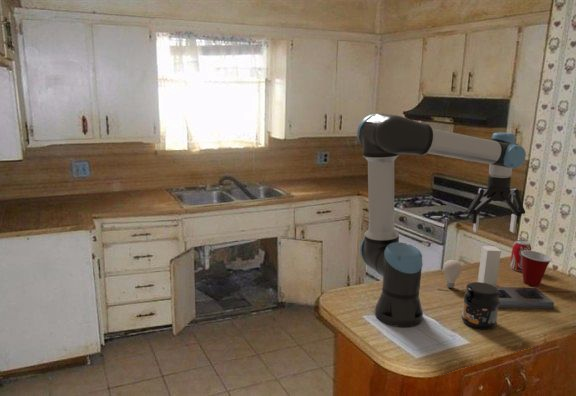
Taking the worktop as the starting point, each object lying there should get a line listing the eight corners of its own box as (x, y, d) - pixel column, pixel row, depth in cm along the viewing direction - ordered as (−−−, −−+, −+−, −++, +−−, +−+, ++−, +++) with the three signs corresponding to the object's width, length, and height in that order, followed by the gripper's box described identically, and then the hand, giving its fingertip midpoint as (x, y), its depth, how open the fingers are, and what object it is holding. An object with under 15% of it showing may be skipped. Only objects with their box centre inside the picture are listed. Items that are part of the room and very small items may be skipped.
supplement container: (453, 317, 150) (457, 283, 147) (479, 312, 154) (483, 279, 151) (477, 333, 140) (482, 297, 138) (503, 327, 144) (508, 292, 141)
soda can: (512, 271, 191) (516, 244, 188) (507, 265, 198) (511, 239, 195) (530, 273, 190) (534, 245, 187) (524, 266, 196) (528, 240, 194)
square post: (482, 287, 174) (487, 250, 170) (477, 282, 179) (482, 246, 175) (495, 288, 174) (500, 250, 170) (490, 282, 179) (495, 246, 175)
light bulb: (463, 288, 173) (466, 261, 170) (452, 292, 169) (455, 264, 166) (448, 282, 178) (451, 256, 175) (437, 286, 174) (440, 259, 172)
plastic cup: (549, 291, 172) (554, 261, 169) (517, 286, 176) (522, 256, 173) (545, 280, 182) (550, 252, 179) (515, 276, 186) (519, 248, 183)
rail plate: (489, 307, 158) (489, 300, 157) (475, 292, 169) (476, 286, 169) (553, 309, 158) (554, 302, 157) (535, 294, 169) (536, 287, 169)
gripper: (529, 173, 169) (523, 228, 174) (461, 173, 170) (456, 228, 175) (540, 177, 162) (532, 235, 167) (468, 177, 162) (463, 234, 167)
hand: (493, 231), depth 171 cm, fingers open, 13 cm apart
